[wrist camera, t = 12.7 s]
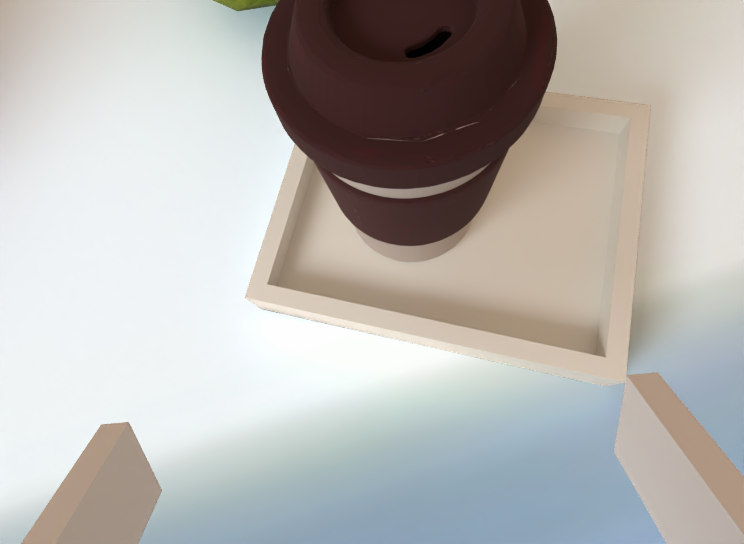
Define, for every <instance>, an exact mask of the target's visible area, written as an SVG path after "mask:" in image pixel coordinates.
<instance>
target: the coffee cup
mask: <svg viewBox="0 0 744 544" xmlns="http://www.w3.org/2000/svg"><path fill="white" fill-rule="evenodd" d="M556 51H557V33H556V26H555V21H554V16H553V13H552V10H551V7H550V5H549V3H548V1H547V0H280V1H279V2H278V4H277V6H276V7H275V9H274V11H273V12H272V14H271V17H270V19H269V22H268V25H267V28H266V31H265V34H264V39H263V47H262V73H263V79H264V83H265V87H266V90H267V93H268V96H269V98H270V100H271V103H272V105H273V107H274V109H275V111H276V113H277V115H278V117H279V119H280V121H281V123H282V125H283V127H284V129H285V131H286V132H287V134H288V135H289V137H290V138H291V139H292V140H293V142H294V143H295V144H296V145H297V146H298V147H299V149H300V150H301V151H302V152H303V153H305V154H306V155H307V156H308V157H309V158H310V159H311V160H313V161H314V163H315V165H316V166H317V168H318V170H319V172H320V174H321V175H322V177H323V179H324V181H325V182H326V184H327V186H328V188H329V190H330V191H331V193H332V195H333V197H334V198H335V200H336V202H337V204H338V206H339V207H340V209H341V211H342V212H343V214H344V215H345V216H346V218H347V219H348V220H349V221H350V222H351V223H352V224H353V225H354V227H355V228H356V230H357V232H358V234H359V235H360V237H361V238H362V239H363V241H364V242H365V243H366V244H367V245H368V246H369V247H370V248H372V249H373V250H374V251H376V252H377V253H379V254H381V255H383V256H385V257H387V258H390V259H393V260H396V261H401V262H421V261H427V260H430V259H433V258H436V257H439V256H440V255H442V254H444V253H446V252H447V251H449V250H450V249H452V248H453V247H454V246H455V245H456V244H457V243H458V242H459V241H460V240H461V239H462V238H463V236H464V235H465V234H466V232H467V230H468V228H469V227H470V224H471V222H472V220H473V218H474V217H475V216H476V214H477V213H478V212H479V210H480V209H481V207H482V206H483V204H484V202H485V200H486V198H487V196H488V194H489V192H490V189H491V187H492V185H493V183H494V181H495V178H496V176H497V174H498V172H499V170H500V168H501V165H502V163H503V161H504V159H505V157H506V155H507V152H508V150H509V148H510V147H511V146H512V145H513V144H514V143H515V142H516V141H517V140H518V139H519V138H520V137H521V136H522V135H523V133H524V132H525V131H526V129H527V128H528V126H529V125H530V123H531V122H532V120H533V118H534V117H535V115H536V113H537V111H538V109H539V107H540V105H541V102H542V99H543V97H544V94H545V92H546V89H547V86H548V84H549V81H550V78H551V75H552V72H553V69H554V64H555V59H556Z"/></svg>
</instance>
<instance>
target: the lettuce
mask: <svg viewBox="0 0 744 544" xmlns="http://www.w3.org/2000/svg"><path fill="white" fill-rule="evenodd" d="M214 1H216V2H218V3H220V4H223V5H225V6H227V7H229V8H232V9H234V10H236V11H242V10H249V9H255V8H261V7H267V6H275V5H277V4H278V2H279V1H280V0H214Z"/></svg>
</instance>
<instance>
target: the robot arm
mask: <svg viewBox="0 0 744 544" xmlns="http://www.w3.org/2000/svg"><path fill="white" fill-rule="evenodd" d="M614 452H615V454H616V456H617V458H618V459H619V461H620V463H621V465H622V466H623V468H624V470H625V472H626V473H627V475H628V477H629V479H630V480H631V482H632V484H633V486H634V487H635V489H636V491H637V493H638V494H639V496H640V498H641V500H642V501H643V503H644V505H645V507H646V508H647V510H648V512H649V514H650V515H651V517H652V519H653V521H654V522H655V524H656V526H657V528H658V529H659V531H660V533H661V535H662V536H663V538H664V540H665V542H666V543H667V544H744V476H743V475H742V474H741V473H740V471H739V470H738V469H737V468H736V467H735V465H734V464H733V463H732V462H731V461H730V459H729V458H728V457H727V456H726V455H725V453H724V452H723V451H722V450H721V448H720V447H719V446H718V445H717V444H716V442H715V441H714V440H713V439H712V438H711V436H710V435H709V434H708V433H707V432H706V430H705V429H704V428H703V427H702V426H701V424H700V423H699V422H698V421H697V420H696V418H695V417H694V416H693V415H692V413H691V412H690V411H689V410H688V409H687V407H686V406H685V405H684V404H683V403H682V401H681V400H680V399H679V398H678V397H677V395H676V394H675V393H674V392H673V391H672V389H671V388H670V387H669V386H668V384H667V383H666V382H665V381H664V380H663V378H662V377H661V376H660V375H659V374H658V372H657V373H646V374H636V375H627V377H626V383H625V389H624V395H623V401H622V407H621V413H620V419H619V425H618V431H617V437H616V443H615V449H614ZM161 492H162V489H161V487H160V485H159V483H158V481H157V479H156V477H155V475H154V473H153V471H152V469H151V467H150V465H149V463H148V461H147V458H146V456H145V454H144V452H143V450H142V448H141V446H140V444H139V442H138V440H137V438H136V436H135V434H134V432H133V430H132V428H131V426H130V424H129V422H125V423H114V424H103V425H101V426H100V427H99V429H98V430H97V432H96V433H95V435H94V436H93V438H92V439H91V441H90V442H89V444H88V445H87V447H86V448H85V450H84V451H83V453H82V454H81V456H80V457H79V459H78V460H77V462H76V463H75V465H74V466H73V468H72V469H71V470H70V472H69V473H68V475H67V476H66V478H65V479H64V481H63V482H62V484H61V485H60V487H59V488H58V490H57V491H56V493H55V494H54V496H53V497H52V499H51V500H50V502H49V503H48V505H47V506H46V508H45V509H44V511H43V512H42V514H41V515H40V516H39V518H38V519H37V521H36V522H35V524H34V525H33V527H32V528H31V530H30V531H29V533H28V534H27V536H26V537H25V539H24V540H23V542H22V543H21V544H138V543H139V541H140V538H141V536H142V534H143V532H144V529H145V527H146V525H147V523H148V521H149V518H150V516H151V514H152V512H153V509H154V507H155V505H156V503H157V500H158V498H159V496H160V494H161Z"/></svg>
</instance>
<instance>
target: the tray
mask: <svg viewBox="0 0 744 544" xmlns="http://www.w3.org/2000/svg"><path fill="white" fill-rule="evenodd" d="M650 108H651V106H650V105H643V104H635V103H627V102H620V101H612V100H604V99H597V98H589V97H581V96H573V95H566V94H558V93H550V92H545V94H544V97H543V99H542V102H541V105H540V107H539V109H538V111H537V113H536V115H535V117H534V118H533V120H532V122H531V123H530V125H529V126H528V128H527V129H526V131H525V132H524V133H523V135H522V136H521V137H520V138H519V139H518V140H517V141H516V142H515V143H514V144H513V145H512V146H511V147H510V148H509V150H508V152H507V155H506V157H505V159H504V161H503V163H502V165H501V168H500V170H499V172H498V174H497V176H496V178H495V181H494V183H493V185H492V187H491V189H490V192H489V194H488V196H487V198H486V200H485V202H484V204H483V206H482V207H481V209H480V210H479V212H478V213H477V214H476V216H475V217H474V218H473V220H472V222H471V224H470V227H469V228H468V230H467V232H466V234H465V235H464V236H463V238H462V239H461V240H460V241H459V242H458V243H457V244H456V245H455V246H454V247H453V248H452V249H450V250H449V251H447V252H446V253H444V254H442V255H440V256H439V257H436V258H433V259H430V260H427V261H421V262H401V261H396V260H393V259H390V258H387V257H385V256H383V255H381V254H379V253H377V252H376V251H374V250H373V249H372V248H370V247H369V246H368V245H367V244H366V243H365V242H364V241H363V239H362V238H361V237H360V235H359V234H358V232H357V230H356V228H355V227H354V225H353V224H352V223H351V222H350V221H349V220H348V219H347V218H346V216H345V215H344V214H343V212H342V211H341V209H340V207H339V206H338V204H337V202H336V200H335V198H334V197H333V195H332V193H331V191H330V190H329V188H328V186H327V184H326V182H325V181H324V179H323V177H322V175H321V174H320V172H319V170H318V168H317V166H316V165H315V163H314V161H313V160H311V159H310V158H309V157H308V156H307V155H306V154H305V153H303V152H302V151H301V150H300V149H299V147H298V146H297V145H296V144H295V145H294V148H293V151H292V154H291V157H290V160H289V164H288V167H287V170H286V173H285V176H284V179H283V182H282V185H281V188H280V191H279V194H278V197H277V200H276V204H275V207H274V210H273V213H272V216H271V219H270V222H269V225H268V228H267V231H266V234H265V237H264V240H263V243H262V247H261V250H260V253H259V256H258V259H257V262H256V265H255V268H254V271H253V274H252V277H251V280H250V283H249V286H248V290H247V293H246V296H245V298H246V299H248V300H249V301H251V302H252V303H253V304H255V305H256V306H258V307H259V308H261V309H264V310H268V311H273V312H277V313H281V314H286V315H290V316H295V317H299V318H304V319H308V320H312V321H317V322H321V323H326V324H330V325H335V326H339V327H343V328H348V329H352V330H357V331H361V332H366V333H370V334H374V335H379V336H383V337H388V338H392V339H397V340H401V341H405V342H410V343H414V344H419V345H423V346H428V347H432V348H436V349H441V350H445V351H450V352H454V353H458V354H463V355H467V356H472V357H476V358H481V359H485V360H489V361H494V362H498V363H503V364H507V365H512V366H516V367H520V368H525V369H529V370H534V371H538V372H543V373H547V374H551V375H556V376H560V377H565V378H569V379H574V380H578V381H582V382H587V383H591V384H596V385H600V386H609V385H615V384H620V383H625V382H626V371H627V360H628V349H629V338H630V328H631V317H632V306H633V295H634V284H635V273H636V262H637V251H638V240H639V229H640V218H641V207H642V196H643V185H644V174H645V163H646V152H647V141H648V130H649V119H650Z"/></svg>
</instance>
